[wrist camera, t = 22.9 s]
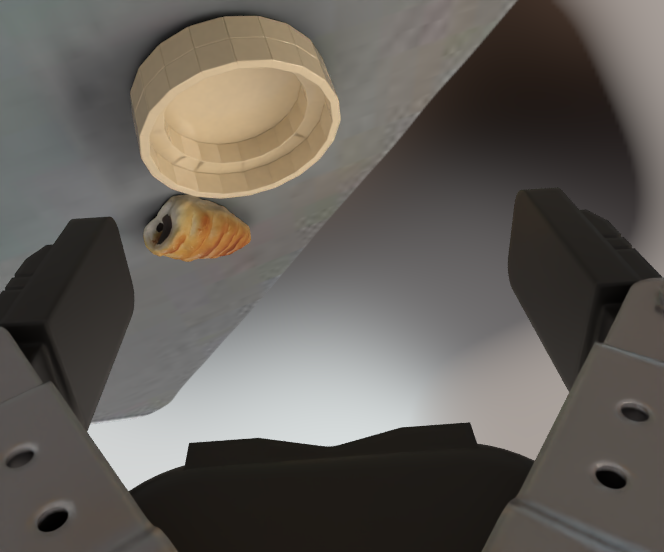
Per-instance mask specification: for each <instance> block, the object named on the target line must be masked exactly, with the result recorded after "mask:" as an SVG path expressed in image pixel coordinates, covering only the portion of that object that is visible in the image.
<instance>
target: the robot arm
mask: <svg viewBox="0 0 664 552" xmlns="http://www.w3.org/2000/svg"><path fill="white" fill-rule="evenodd" d="M508 274H509V280H510V284H511V287H512V289H513V291H514V293H515V295H516V296H517V298H518V300H519V302H520V304H521V306H522V307H523V309H524V311H525V313H526V315H527V317H528V318H529V320H530V322H531V324H532V326H533V327H534V329H535V331H536V333H537V335H538V336H539V338H540V340H541V342H542V344H543V346H544V347H545V349H546V351H547V353H548V355H549V356H550V358H551V360H552V362H553V364H554V365H555V367H556V369H557V371H558V373H559V374H560V376H561V378H562V380H563V382H564V384H565V385H566V387H567V389H568V391H569V394H568V396H567V398H566V400H565V402H564V404H563V406H562V408H561V410H560V412H559V414H558V416H557V418H556V420H555V422H554V424H553V426H552V428H551V430H550V432H549V434H548V436H547V438H546V440H545V442H544V444H543V446H542V448H541V450H540V452H539V454H538V456H537V458H536V460H535V461H534V460H532V459H529V458H527V457H525V456H522V455H520V454H517V453H514V452H511V451H508V450H505V449H501V448H497V447H493V446H488V445H483V444H477V442H476V439H475V436H474V433H473V430H472V427H471V424H470V423H456V424H443V425H429V426H416V427H402V428H398V429H394V430H391V431H387V432H384V433H380V434H377V435H373V436H370V437H366V438H363V439H359V440H356V441H352V442H348V443H345V444H341V445H338V446H333V447H332V446H331V447H325V446H317V445H309V444H300V443H293V442H286V441H277V440H270V439H262V438H252V439H238V440H225V441H211V442H197V443H189V447H188V452H187V457H186V462H185V466H181V467H178V468H175V469H172V470H169V471H167V472H164V473H162V474H159V475H157V476H155V477H153V478H151V479H149V480H147V481H145V482H143V483H141V484H140V485H138V486H137V487H135V488H133V489H132V490H130V491H128V490H127V489H126V488H125V486H124V485H123V483H122V482H121V480H120V479H119V477H118V476H117V475H116V473H115V472H114V470H113V469H112V467H111V466H110V464H109V463H108V462H107V460H106V459H105V457H104V456H103V454H102V453H101V451H100V450H99V449H98V447H97V446H96V444H95V443H94V441H93V440H92V438H91V437H90V436H89V434H88V433H87V431H88V428H89V425H90V423H91V420H92V418H93V415H94V413H95V410H96V407H97V405H98V402H99V400H100V397H101V394H102V392H103V389H104V387H105V384H106V382H107V379H108V376H109V374H110V371H111V369H112V366H113V363H114V361H115V358H116V356H117V353H118V351H119V348H120V345H121V343H122V340H123V338H124V335H125V332H126V330H127V327H128V325H129V322H130V320H131V317H132V314H133V310H134V289H133V284H132V280H131V276H130V272H129V268H128V265H127V261H126V257H125V253H124V249H123V245H122V242H121V238H120V234H119V230H118V227H117V224H116V222H115V221H114V219H113V218H112V217H97V218H82V219H72V220H70V221H69V223H68V224H67V226H66V227H65V228H64V230H63V231H62V233H61V234H60V236H59V237H58V239H57V240H56V241H55V243H54V244H53V245H46V246H44V247H43V248H42V249H40V250H39V251H37V252H36V253H34V254H33V255H31V256H30V257H28V258H27V259H26V260H25V261H24V262H23V264H22V265H21V266H20V268H19V269H18V271H17V272H16V273H15V278H12V279H11V280H10V281H9V283H8V284H7V285H6V287H5V291H2V292H1V294H0V552H664V278H663V277H662V276H661V275H660V274H659V273H658V272H657V271H656V270H655V269H654V268H653V267H652V266H651V265H650V264H649V263H648V262H647V261H646V260H645V259H644V258H643V257H642V256H641V255H640V254H639V252H638V251H637V250H636V249H635V248H632V245H631V244H630V243H629V242H628V241H627V240H626V239H625V238H624V237H621V234H620V233H619V232H618V231H617V230H616V229H615V227H614V226H613V225H612V224H611V223H610V222H609V221H608V220H605V219H603V218H601V217H600V216H598V215H596V214H594V213H592V212H590V211H588V210H579V209H578V208H577V207H576V206H575V204H574V203H573V202H572V201H571V200H570V199H569V198H568V197H567V195H566V194H565V193H564V192H563V191H562V190H561V189H560V188H544V189H530V190H529V189H528V190H520V191H519V192H518V194H517V196H516V199H515V205H514V213H513V222H512V230H511V239H510V247H509V255H508Z"/></svg>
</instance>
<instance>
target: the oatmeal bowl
mask: <svg viewBox="0 0 664 552" xmlns="http://www.w3.org/2000/svg"><path fill="white" fill-rule="evenodd" d="M130 97H131V108H132V117H133V122H134V126H135V131H136V136H137V141H138V146H139V151H140V156H141V159H142V160H143V162H144V163H145V165H146V167H147V168H148V170H149V171H150V173H151V174H152V176H153V177H155V178H156V179H158V180H159V181H161V182H162V183H163V184H165V185H166V186H168V187H169V188H171V189H173V190H176V191H179V192H182V193H186V194H189V195H192V196H196V197H207V198H231V197H240V196H248V195H252V194H256V193H259V192H262V191H266V190H269V189H272V188H275V187H278V186H279V185H281V184H283V183H285V182H287V181H289V180H291V179H293V178H295V177H297V176H299V175H301V174H302V173H303V172H304V171H306V170H307V169H308V168H309V167H311V166H312V165H313V164H314V163H316V162H317V161H318V160H319V159H320V158H321V157H322V155H323V154H324V153H325V151H326V150H327V149H328V147H329V146H330V145H331V143H332V142H333V141H334V138H335V135H336V132H337V129H338V126H339V123H340V119H341V117H340V108H339V99H338V97H337V94H336V92H335V89H334V86H333V84H332V81H331V79H330V76H329V74H328V71H327V69H326V66H325V63H324V61H323V58H322V57H321V55H320V54H319V52H318V51H317V49H316V48H315V46H314V44H313V43H312V41H311V40H310V39H309V38H307V37H306V36H305V35H303V34H302V33H300V32H299V31H297V30H296V29H294V28H293V27H291V26H290V25H288V24H287V23H283V22H280V21H276V20H272V19H268V18H265V17H261V16H224V17H219V18H216V19H212V20H209V21H205V22H202V23H198V24H195V25H191V26H189V27H186V28H185V29H183V30H181V31H180V32H178V33H177V34H175V35H173V36H172V37H170V38H168V39H167V40H165V41H163V42H162V43H160V45H158V46H157V47H156V48H155V50H154V51H153V52H152V53H151V54H150V55H149V56H148V58H147V59H146V60H145V61H144V62H143V63H142V64H141V66H140V67H139V69H138V72H137V75H136V77H135V80H134V83H133V86H132V88H131V91H130Z"/></svg>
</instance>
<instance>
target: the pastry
mask: <svg viewBox="0 0 664 552" xmlns="http://www.w3.org/2000/svg"><path fill="white" fill-rule="evenodd" d="M143 238H144V242H145V245H146V247H147V248H148V249H149V250H150V251H151V252H152V253H153V254H155V255H158V256H162V255H164V256H167V257H170V258H173V259H181V260H183V261H186V262H189V261H192V260H195V259H198V258H200V259H204V258H217V257H219V256H225V255H230V254H232V253H233V252H235V251H237V250H238V249H241V248H242V247H244V246H245V245H246V244H248V243H249V242H250V240H251V236H250V229H249V227H248V225H247V224H245V223H244V222H243V221H241V220H240V219H239V218H237V217H236V216H235V215H234V214H233V213H232V214H231V213H230V212H229V211H228V210H227V209H226V208H225V207H224V206H219V205H218V204H216V203H214V202H211V201H208V200H202V199H200V198H199V197H196V196H192V195H178V196H173V197H171V198H170V199H169V200H168V201H167V202H166V203H165V204H164V205H163V206H162V208H161V210H160V211H159V212H158V215H157V217H156V218H154V219H153V220H152V221H151V222H150V223H149V224H148V225H147V226H146V227H145V228H144V233H143Z"/></svg>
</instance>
